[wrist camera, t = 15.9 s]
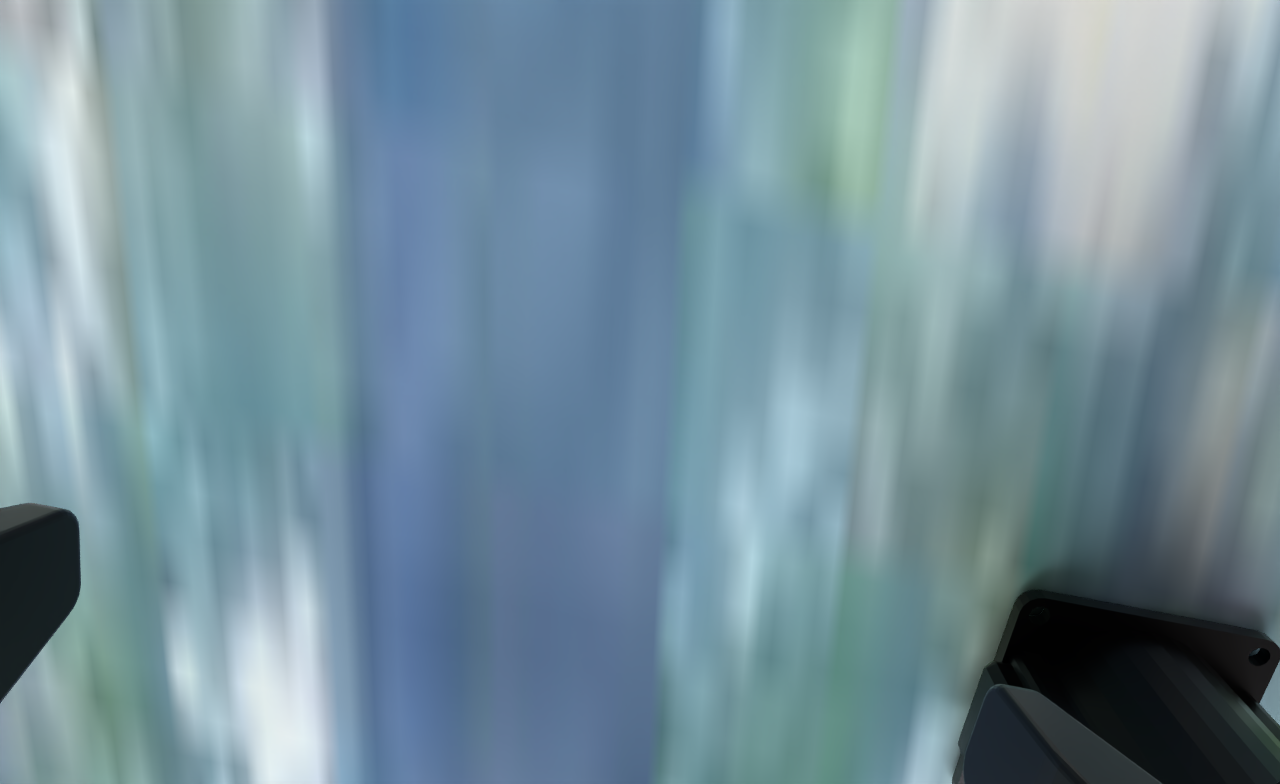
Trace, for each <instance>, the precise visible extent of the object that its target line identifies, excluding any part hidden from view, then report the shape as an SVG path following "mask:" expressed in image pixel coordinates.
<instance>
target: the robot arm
mask: <svg viewBox="0 0 1280 784" xmlns="http://www.w3.org/2000/svg"><path fill="white" fill-rule="evenodd" d="M80 586H81V571H80V538H79V523H78V520H77V518H76V516H75V515H74V514H73V513H72V512H71V511H69V510H66V509H62V508H57V507H51V506H46V505H41V504H35V503H25V504H19V505H14V506H9V507H5V508H0V703H1V702H2V700H3V699H4V698H5V696H6V695H7V694H8V693H9V691H10V690H11V689H12V687H13V686H14V685H15V683H16V682H17V681H18V680H19V678H20V677H21V676H22V674H23V673H24V672H25V671H26V669H27V668H28V667H29V665H30V664H31V663H32V662H33V660H34V659H35V658H36V656H37V655H38V654H39V652H40V651H41V650H42V649H43V647H44V646H45V645H46V643H47V642H48V641H49V640H50V638H51V637H52V636H53V634H54V633H55V632H56V631H57V629H58V628H59V627H60V625H61V624H62V623H63V621H64V620H65V619H66V618H67V616H68V615H69V614H70V612H71V611H72V609H73V607H74V606H75V604H76V602H77V599H78V596H79V592H80ZM1036 607H1044V610H1043V611H1042V613H1040V614H1038V615H1037V616H1030V615H1029V613H1030V612H1031V611H1032V609H1034V608H1036ZM1258 648H1260V650H1259V652H1258V653H1257V654H1255V655H1253V656H1249V655H1250V653H1251V652H1252V651H1253V650H1255V649H1258ZM1279 661H1280V648H1279V647H1278V646H1277V645H1276V644H1275V643H1274V642H1273V641H1272V640H1271V639H1270V638H1269V637H1268V636H1267V635H1266V634H1265V633H1262V632H1260V631H1257V630H1251V629H1246V628H1241V627H1235V626H1230V625H1225V624H1219V623H1214V622H1209V621H1203V620H1198V619H1193V618H1187V617H1182V616H1177V615H1171V614H1166V613H1161V612H1155V611H1150V610H1145V609H1139V608H1134V607H1129V606H1123V605H1118V604H1113V603H1107V602H1102V601H1097V600H1091V599H1086V598H1081V597H1075V596H1070V595H1065V594H1059V593H1054V592H1049V591H1043V590H1030V591H1027V592H1024V593H1023V594H1021V595H1020V596H1019V597H1018V598H1017V600H1016V601H1015V603H1014V605H1013V608H1012V611H1011V614H1010V617H1009V620H1008V622H1007V625H1006V628H1005V631H1004V634H1003V636H1002V639H1001V642H1000V645H999V648H998V651H997V653H996V656H995V659H994V661H992V662H991V663H989V664H988V665H987V666H986V667H985V668H984V670H983V673H982V675H981V678H980V681H979V684H978V687H977V690H976V693H975V695H974V698H973V701H972V704H971V707H970V710H969V713H968V715H967V718H966V721H965V724H964V727H963V730H962V732H961V735H960V738H959V742H958V745H959V748H960V750H961V755H960V758H959V761H958V764H957V767H956V769H955V772H954V775H953V778H952V784H1280V726H1279V725H1278V723H1277V722H1276V721H1275V720H1274V719H1273V718H1272V717H1271V716H1270V715H1269V714H1268V713H1267V712H1266V711H1265V710H1264V708H1263V707H1262V706H1261V705H1260V704H1259V703H1260V701H1261V699H1262V697H1263V694H1264V692H1265V690H1266V688H1267V686H1268V684H1269V682H1270V680H1271V678H1272V675H1273V673H1274V671H1275V669H1276V667H1277V665H1278V663H1279Z"/></svg>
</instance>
